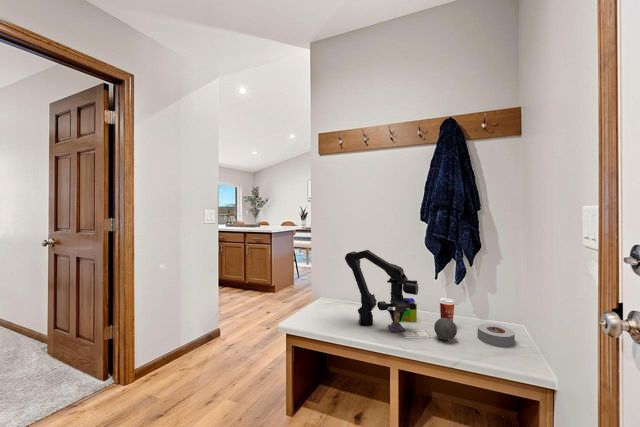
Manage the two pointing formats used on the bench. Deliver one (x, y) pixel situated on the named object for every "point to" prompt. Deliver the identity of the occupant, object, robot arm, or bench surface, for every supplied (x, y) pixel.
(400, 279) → the robot arm
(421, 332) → the print card
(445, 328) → the decorative ball
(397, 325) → the stamp
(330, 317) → the bench surface
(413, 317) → the puzzle toy
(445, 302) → the paper cup
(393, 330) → the ink pad
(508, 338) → the tape roll
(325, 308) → the bench surface
